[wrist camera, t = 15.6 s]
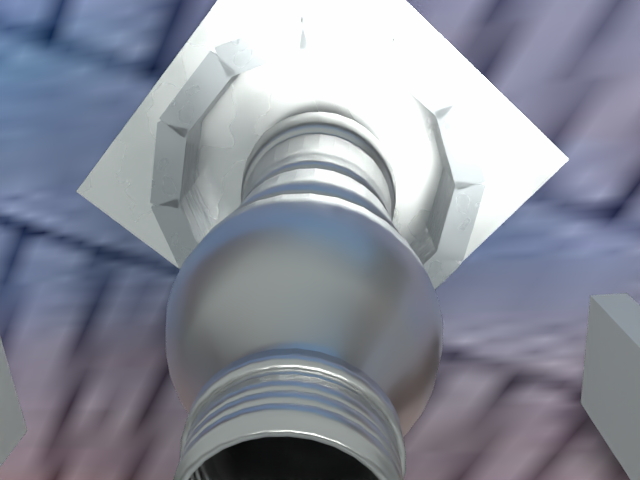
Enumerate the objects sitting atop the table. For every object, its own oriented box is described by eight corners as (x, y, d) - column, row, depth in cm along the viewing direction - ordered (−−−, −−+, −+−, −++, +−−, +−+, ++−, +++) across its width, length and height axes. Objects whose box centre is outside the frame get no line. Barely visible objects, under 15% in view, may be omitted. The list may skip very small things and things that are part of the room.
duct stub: (334, 373, 32) (333, 421, 29) (84, 185, 29) (47, 211, 25) (561, 154, 28) (596, 176, 24) (297, -102, 24) (290, -121, 21)
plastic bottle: (264, 252, 29) (134, 699, 10) (236, 112, 26) (-1, 360, 8) (398, 235, 28) (519, 671, 10) (382, 90, 26) (500, 298, 7)
